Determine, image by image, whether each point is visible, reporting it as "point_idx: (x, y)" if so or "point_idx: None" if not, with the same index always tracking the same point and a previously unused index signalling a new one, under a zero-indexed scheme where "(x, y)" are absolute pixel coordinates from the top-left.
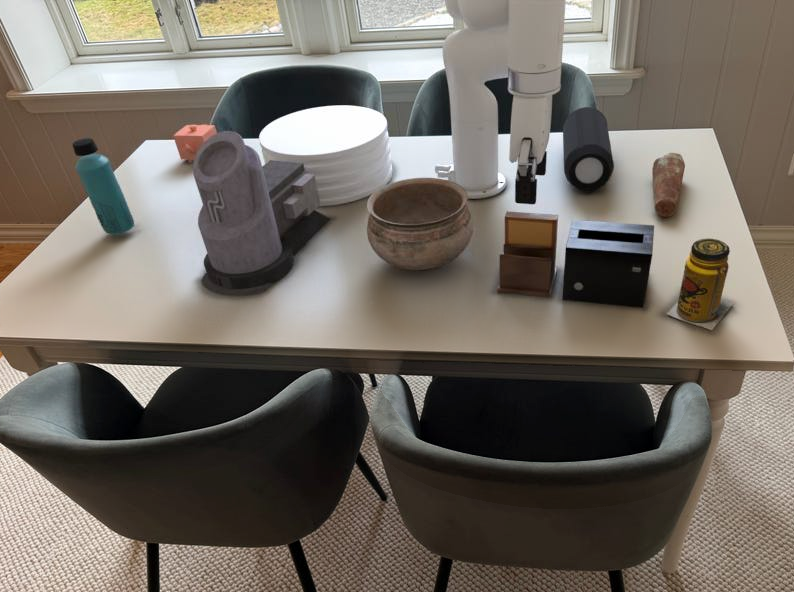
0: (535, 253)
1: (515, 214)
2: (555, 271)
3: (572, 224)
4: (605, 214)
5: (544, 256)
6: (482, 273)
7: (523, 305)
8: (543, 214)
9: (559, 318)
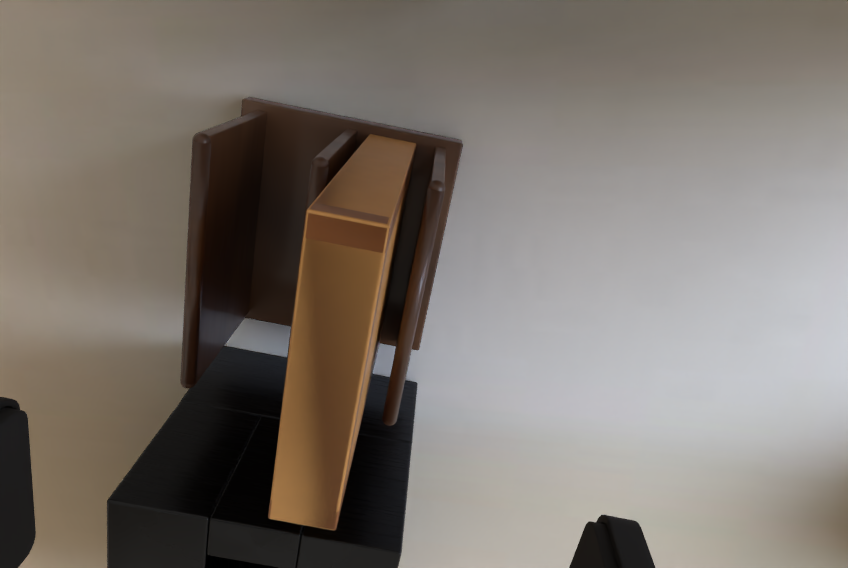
0: None
1: (336, 288)
2: (382, 341)
3: (348, 548)
4: (823, 538)
5: None
6: (403, 20)
7: (169, 206)
8: (336, 457)
9: (108, 328)
